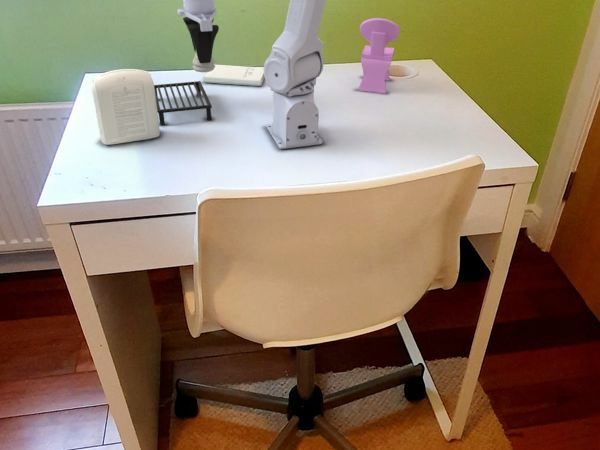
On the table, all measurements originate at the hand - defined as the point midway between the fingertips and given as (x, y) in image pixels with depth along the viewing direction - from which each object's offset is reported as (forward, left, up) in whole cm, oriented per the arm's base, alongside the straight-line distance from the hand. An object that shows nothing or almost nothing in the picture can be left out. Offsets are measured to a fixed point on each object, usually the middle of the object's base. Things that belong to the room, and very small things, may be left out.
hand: (203, 58), depth 107 cm
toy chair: (+1, -38, -9) cm, 39 cm away
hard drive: (+12, -9, -9) cm, 17 cm away
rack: (-2, +5, -9) cm, 11 cm away
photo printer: (-12, +16, -9) cm, 22 cm away
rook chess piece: (0, 0, -2) cm, 2 cm away
